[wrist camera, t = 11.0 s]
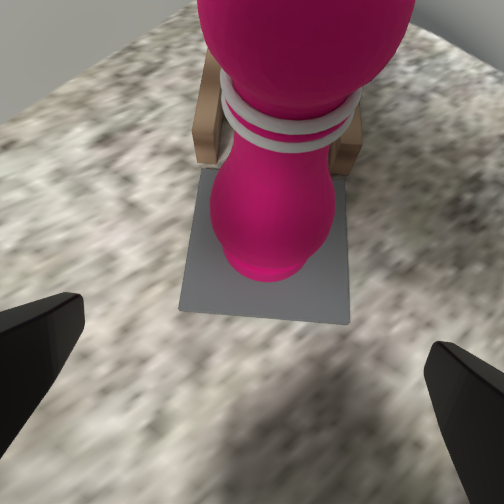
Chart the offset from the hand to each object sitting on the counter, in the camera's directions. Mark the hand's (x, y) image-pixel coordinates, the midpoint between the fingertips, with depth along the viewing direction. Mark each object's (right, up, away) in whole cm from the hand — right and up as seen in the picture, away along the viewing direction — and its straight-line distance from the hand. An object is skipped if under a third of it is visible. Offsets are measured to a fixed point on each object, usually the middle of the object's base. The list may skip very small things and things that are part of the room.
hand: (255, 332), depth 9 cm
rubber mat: (+1, +3, +16) cm, 16 cm away
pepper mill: (+1, +3, +16) cm, 16 cm away
